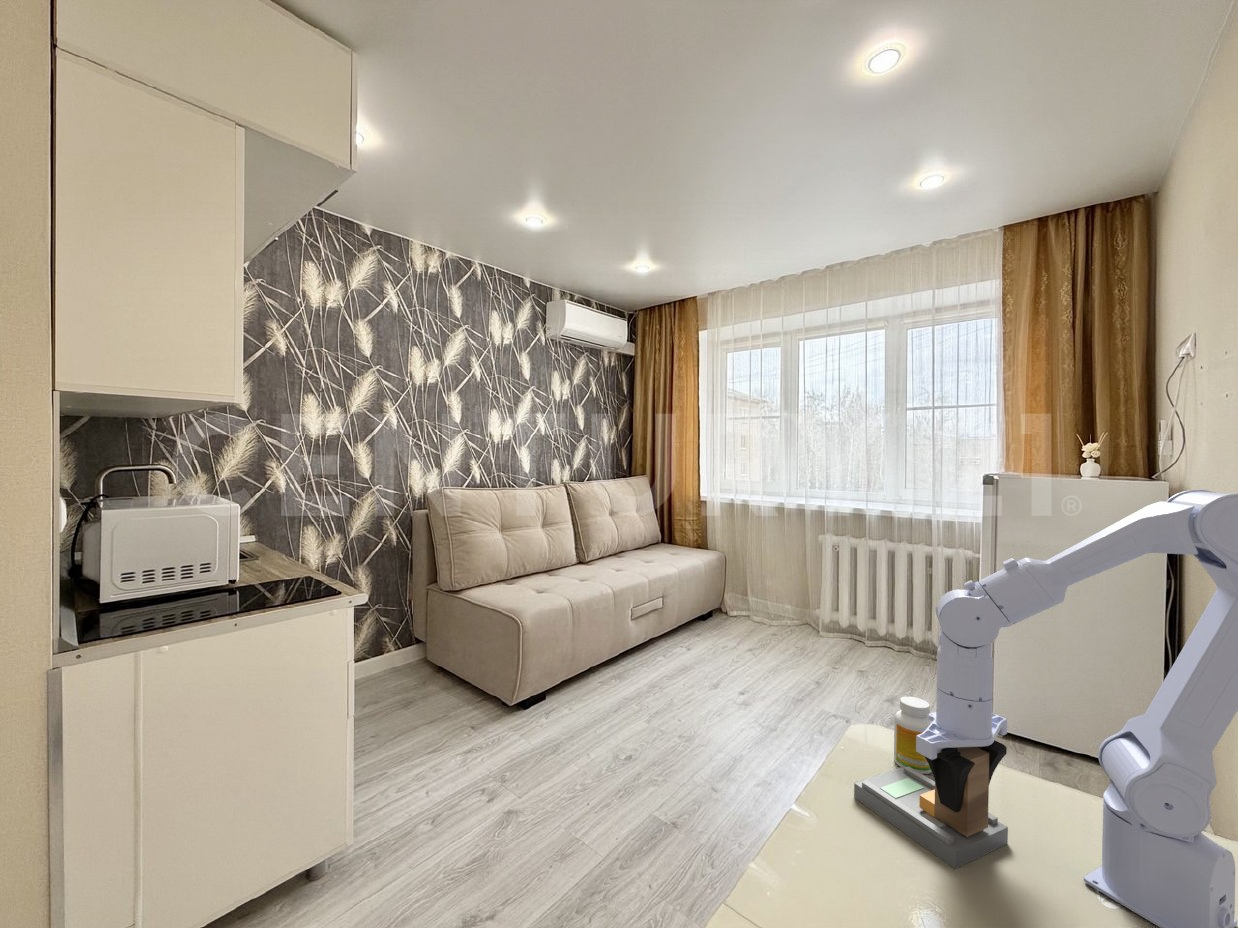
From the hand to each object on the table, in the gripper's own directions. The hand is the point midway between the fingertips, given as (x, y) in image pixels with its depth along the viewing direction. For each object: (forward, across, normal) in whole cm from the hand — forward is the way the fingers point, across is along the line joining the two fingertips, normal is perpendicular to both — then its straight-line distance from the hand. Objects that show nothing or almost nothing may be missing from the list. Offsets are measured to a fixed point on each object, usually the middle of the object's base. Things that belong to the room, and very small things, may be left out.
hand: (961, 801), depth 65 cm
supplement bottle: (+5, -10, -14) cm, 18 cm away
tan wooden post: (+2, 0, 0) cm, 3 cm away
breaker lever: (+3, 0, -3) cm, 4 cm away
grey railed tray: (+5, 0, -4) cm, 7 cm away
